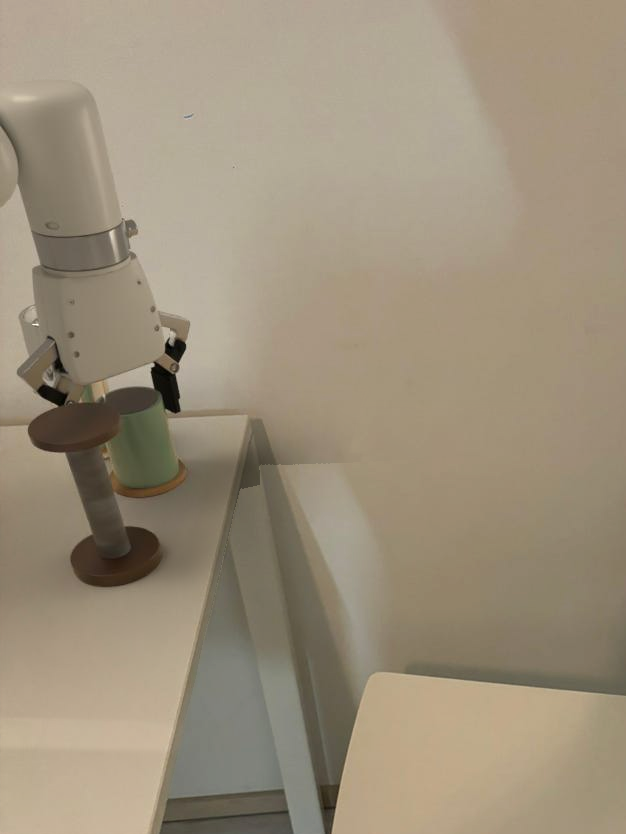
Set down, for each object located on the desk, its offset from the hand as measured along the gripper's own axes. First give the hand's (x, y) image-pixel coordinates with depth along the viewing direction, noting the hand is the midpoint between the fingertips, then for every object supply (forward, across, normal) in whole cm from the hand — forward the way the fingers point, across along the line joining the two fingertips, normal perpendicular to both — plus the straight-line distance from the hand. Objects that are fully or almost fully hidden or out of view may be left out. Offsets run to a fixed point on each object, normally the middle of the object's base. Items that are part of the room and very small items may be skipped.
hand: (127, 425), depth 92 cm
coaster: (+6, -1, 0) cm, 6 cm away
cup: (+6, -1, 0) cm, 6 cm away
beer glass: (+6, 0, -9) cm, 11 cm away
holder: (+6, +9, +11) cm, 16 cm away
